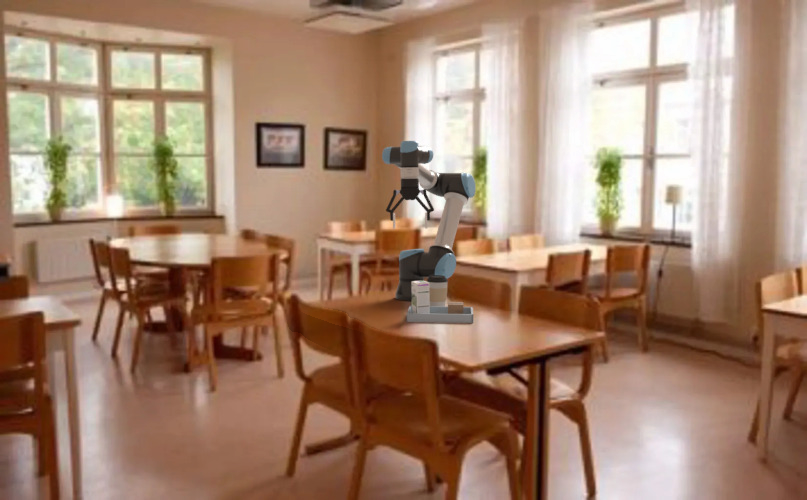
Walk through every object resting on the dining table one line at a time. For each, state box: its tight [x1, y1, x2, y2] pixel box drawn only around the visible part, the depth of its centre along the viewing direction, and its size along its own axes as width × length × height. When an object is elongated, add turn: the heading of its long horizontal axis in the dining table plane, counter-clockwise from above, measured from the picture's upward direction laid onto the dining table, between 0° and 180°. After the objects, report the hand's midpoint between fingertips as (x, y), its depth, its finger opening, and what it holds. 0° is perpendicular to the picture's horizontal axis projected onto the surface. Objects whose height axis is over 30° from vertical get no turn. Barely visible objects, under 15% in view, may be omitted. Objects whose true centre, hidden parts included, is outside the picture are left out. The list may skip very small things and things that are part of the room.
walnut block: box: [447, 301, 464, 314], centre depth 268 cm, size 6×6×6 cm
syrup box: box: [411, 280, 430, 314], centre depth 269 cm, size 6×6×14 cm
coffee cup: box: [426, 275, 449, 307], centre depth 289 cm, size 9×9×15 cm
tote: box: [406, 305, 474, 324], centre depth 268 cm, size 16×26×4 cm, turn 85°
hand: (410, 228), depth 287 cm, fingers open, 13 cm apart
